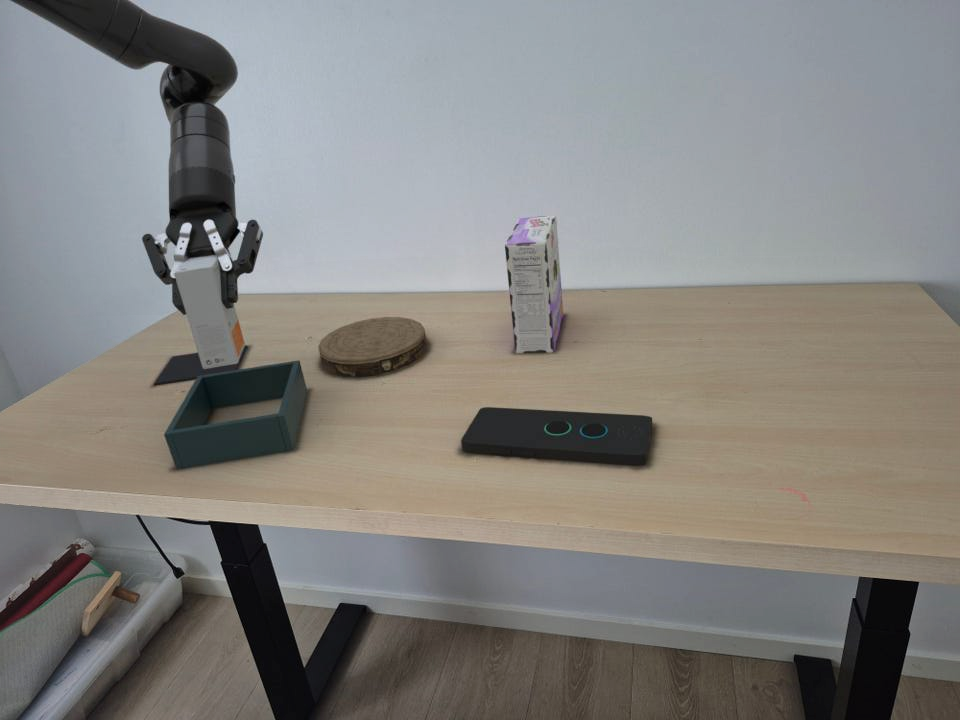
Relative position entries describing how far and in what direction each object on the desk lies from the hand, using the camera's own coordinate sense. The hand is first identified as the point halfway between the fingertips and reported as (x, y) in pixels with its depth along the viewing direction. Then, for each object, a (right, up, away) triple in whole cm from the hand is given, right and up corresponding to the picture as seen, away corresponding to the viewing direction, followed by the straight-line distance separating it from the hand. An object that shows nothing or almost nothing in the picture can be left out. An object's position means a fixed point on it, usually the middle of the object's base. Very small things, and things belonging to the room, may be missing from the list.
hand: (206, 308), depth 80 cm
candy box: (+40, -2, +25) cm, 48 cm away
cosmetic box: (+1, -6, +5) cm, 8 cm away
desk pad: (-12, -7, +29) cm, 32 cm away
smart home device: (+40, -15, -2) cm, 43 cm away
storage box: (+2, -15, +9) cm, 17 cm away
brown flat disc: (+16, -5, +25) cm, 30 cm away
